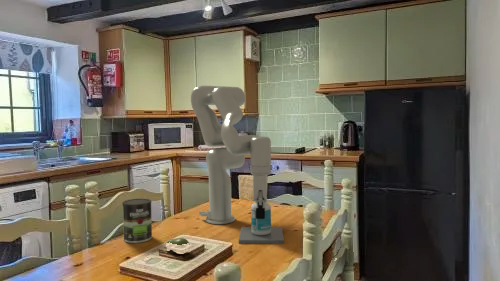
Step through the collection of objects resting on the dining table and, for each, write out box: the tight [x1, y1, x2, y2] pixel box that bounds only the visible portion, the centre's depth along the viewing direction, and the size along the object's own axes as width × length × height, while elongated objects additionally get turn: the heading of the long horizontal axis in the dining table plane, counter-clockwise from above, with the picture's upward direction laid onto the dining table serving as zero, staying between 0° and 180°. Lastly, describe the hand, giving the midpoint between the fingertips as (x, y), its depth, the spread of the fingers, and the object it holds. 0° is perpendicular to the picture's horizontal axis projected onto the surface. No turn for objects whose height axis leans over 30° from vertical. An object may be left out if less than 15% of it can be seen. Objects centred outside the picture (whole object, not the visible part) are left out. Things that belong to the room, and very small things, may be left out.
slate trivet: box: [238, 226, 285, 245], centre depth 139 cm, size 16×16×1 cm
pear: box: [165, 237, 190, 245], centre depth 124 cm, size 6×5×10 cm
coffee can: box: [122, 198, 153, 244], centre depth 138 cm, size 10×10×14 cm
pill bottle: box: [250, 196, 272, 235], centre depth 139 cm, size 8×7×14 cm
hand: (260, 214), depth 139 cm, fingers open, 9 cm apart
